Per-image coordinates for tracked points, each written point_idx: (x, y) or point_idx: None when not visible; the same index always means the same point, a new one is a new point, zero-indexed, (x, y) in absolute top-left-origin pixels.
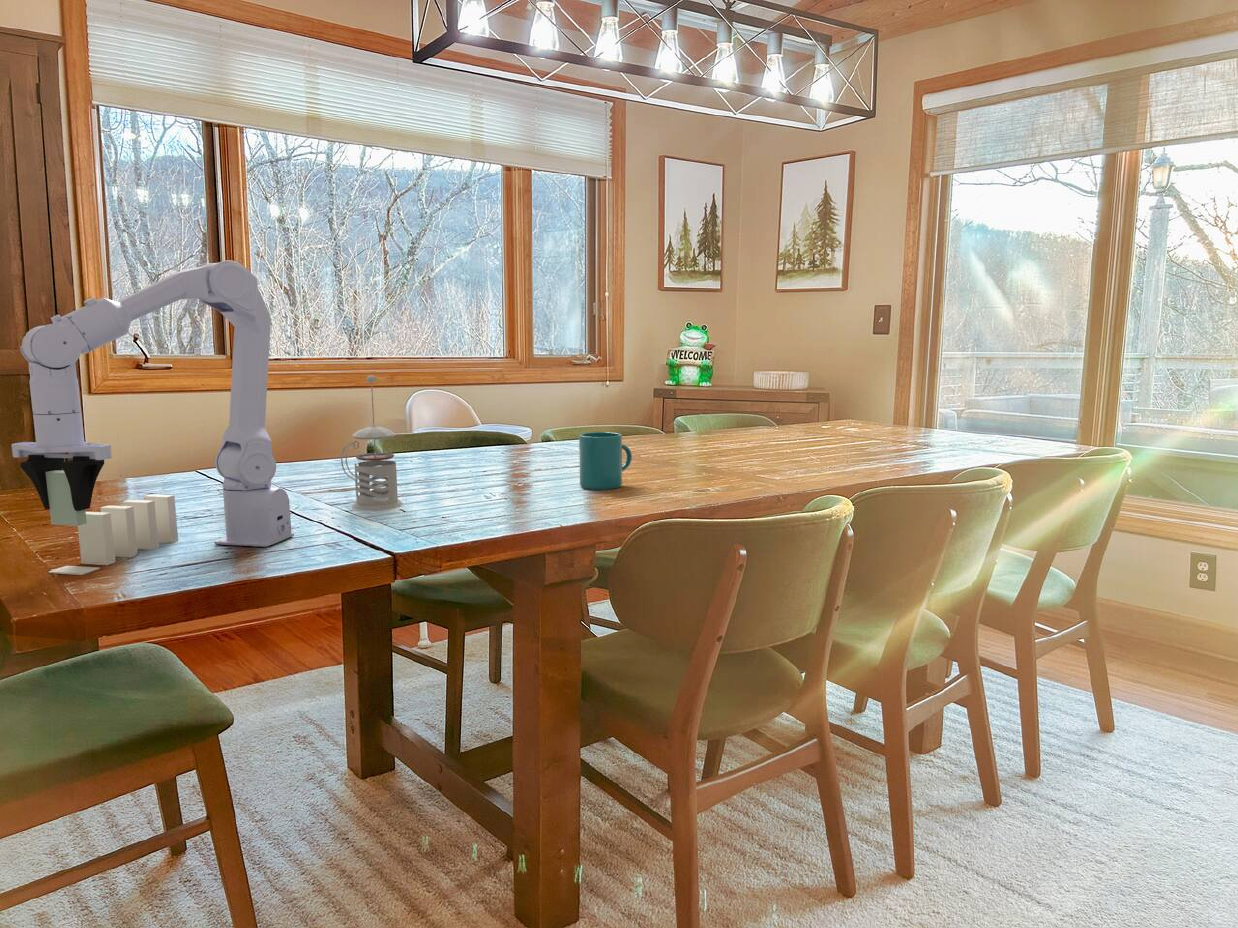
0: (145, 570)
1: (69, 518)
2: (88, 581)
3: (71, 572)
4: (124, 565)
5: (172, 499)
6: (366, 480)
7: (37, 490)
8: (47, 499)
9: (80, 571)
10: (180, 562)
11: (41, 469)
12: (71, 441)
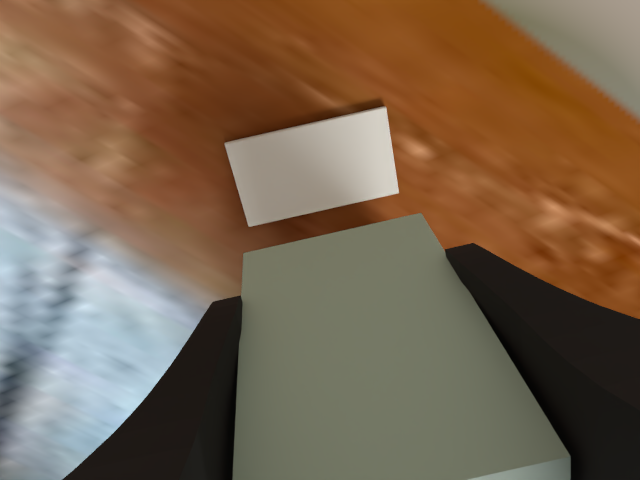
0: (72, 282)
1: (294, 261)
2: (107, 95)
3: (283, 139)
4: (214, 291)
5: None
6: None
7: (554, 289)
8: (468, 285)
9: (264, 163)
10: (70, 388)
11: (603, 457)
12: None
